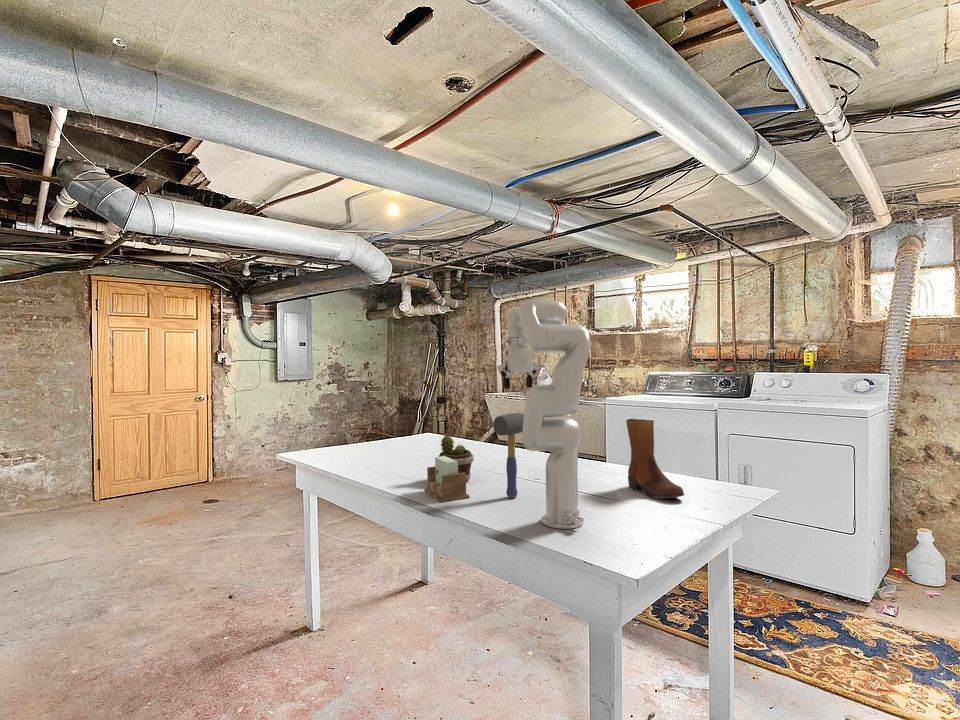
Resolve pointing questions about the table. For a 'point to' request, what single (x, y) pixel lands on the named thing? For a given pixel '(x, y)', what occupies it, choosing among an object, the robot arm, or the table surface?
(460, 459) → the flowerpot
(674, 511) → the table surface
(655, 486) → the boot
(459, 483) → the wooden holder
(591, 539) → the table surface
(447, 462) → the door panel
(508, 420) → the rubber mallet
